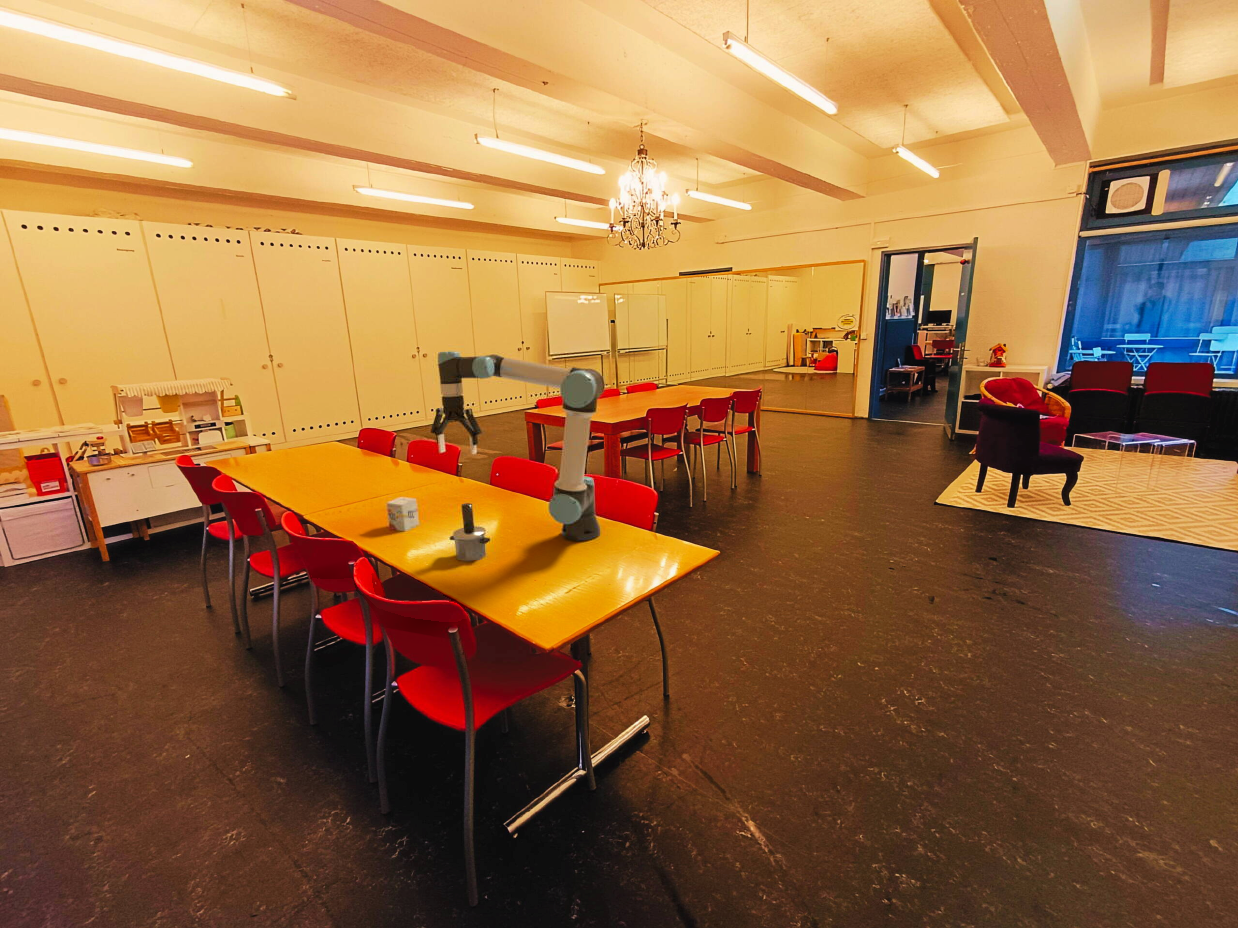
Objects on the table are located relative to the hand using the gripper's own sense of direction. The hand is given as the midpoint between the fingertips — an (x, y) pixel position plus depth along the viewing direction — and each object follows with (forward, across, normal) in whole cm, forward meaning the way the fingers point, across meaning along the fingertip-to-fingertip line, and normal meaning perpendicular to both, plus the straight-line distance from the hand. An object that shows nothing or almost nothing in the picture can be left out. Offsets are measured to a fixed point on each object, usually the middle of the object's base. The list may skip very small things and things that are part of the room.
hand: (458, 452), depth 198 cm
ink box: (+35, +35, -7) cm, 50 cm away
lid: (+27, -10, +12) cm, 31 cm away
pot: (+35, -10, +12) cm, 38 cm away
